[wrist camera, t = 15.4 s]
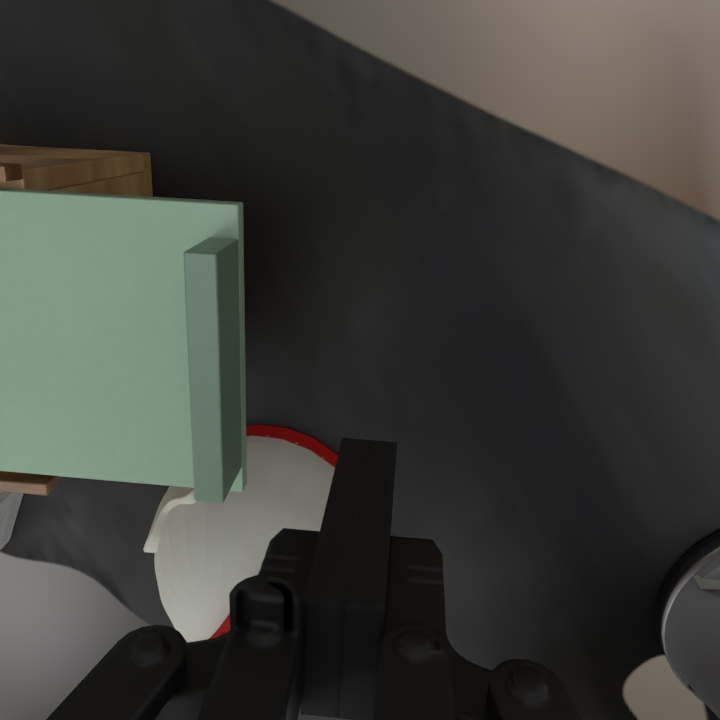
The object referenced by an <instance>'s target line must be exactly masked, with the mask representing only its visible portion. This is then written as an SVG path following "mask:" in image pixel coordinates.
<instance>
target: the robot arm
mask: <svg viewBox="0 0 720 720" xmlns="http://www.w3.org/2000/svg"><path fill="white" fill-rule="evenodd" d="M396 449H397V442H384V441H372V440H359V439H347V438H342V441H341V445H340V449H339V453H338V458H337V462H336V466H335V470H334V474H333V478H332V483H331V487H330V491H329V495H328V499H327V503H326V508H325V512H324V516H323V520H322V524H321V528H320V531H311V530H300V529H288V528H283V529H282V530H281V531H280V532H279V533H278V534H276V535H275V536H274V537H273V538H272V539H271V540H270V542H269V545H268V548H267V551H266V554H265V558H264V559H263V562H262V565H261V570H260V571H259V574H258V575H255V576H252V577H249V578H245V579H244V580H242V581H241V582H239V583H238V584H236V585H235V586H234V588H233V589H232V591H231V592H230V593H229V603H230V631H228V632H227V633H225V634H222V635H220V636H218V637H215V638H211V639H207V640H201V641H194V642H188V643H186V640H185V639H184V637H183V636H182V634H181V633H180V632H179V631H177V630H175V629H173V628H171V627H169V626H161V625H152V626H146V627H141V628H139V629H137V630H134V631H132V632H130V633H128V634H127V635H126V636H124V637H123V638H122V639H121V640H119V641H118V642H117V643H116V644H115V645H114V646H113V648H112V649H111V650H110V651H109V652H108V653H107V654H106V655H105V656H104V657H103V658H102V659H101V661H100V662H99V663H98V664H97V665H96V666H95V667H94V668H93V669H92V670H91V671H90V673H89V674H88V675H87V676H86V677H85V678H84V679H83V680H82V681H81V682H80V684H79V685H78V686H77V687H76V688H75V689H74V690H73V691H72V692H71V693H70V694H69V695H68V696H67V698H66V699H65V700H64V701H63V702H62V703H61V704H60V705H59V706H58V707H57V709H55V711H54V712H53V713H52V714H51V715H50V716H49V717H48V718H47V719H46V720H297V718H298V713H299V708H300V704H301V714H307V715H316V716H325V717H335V718H344V719H353V720H582V719H581V717H580V715H579V714H578V712H577V710H576V708H575V706H574V704H573V702H572V701H571V699H570V697H569V695H568V693H567V691H566V689H565V688H564V686H563V684H562V683H561V682H560V680H559V679H558V678H557V677H556V675H555V674H554V673H553V672H551V671H550V670H548V669H547V668H545V667H544V666H543V665H540V664H538V663H535V662H532V661H529V660H520V659H512V660H508V661H505V662H501V663H500V664H499V665H498V666H497V667H495V668H494V669H493V671H492V670H489V669H486V668H483V667H481V666H478V665H476V664H474V663H472V662H469V661H467V660H466V659H465V658H463V657H462V656H460V655H459V654H458V653H457V652H456V651H455V650H454V649H453V648H452V646H451V644H450V642H449V641H448V638H447V634H446V622H445V601H444V586H443V584H444V581H443V560H442V553H441V552H440V550H439V549H438V547H437V546H436V544H435V543H434V541H433V540H428V539H417V538H406V537H395V536H390V533H391V519H392V505H393V491H394V477H395V463H396ZM655 628H656V632H657V636H658V639H659V642H660V645H661V647H662V649H663V651H664V653H665V656H666V658H667V660H668V662H669V664H670V666H671V668H672V670H673V672H674V673H675V675H676V676H677V678H678V679H679V680H680V681H681V683H682V684H683V685H684V686H685V687H686V688H687V689H688V690H689V691H691V692H692V693H693V694H694V695H695V696H696V697H697V698H699V699H700V700H701V701H703V702H704V703H705V704H706V705H707V706H708V707H709V708H710V709H711V710H712V711H713V712H714V713H715V715H716V716H717V717H718V718H719V719H720V531H719V532H717V533H715V534H713V535H711V536H709V537H707V538H706V539H704V540H703V541H701V542H700V543H698V544H697V545H696V546H694V547H693V548H692V549H691V550H689V551H688V552H687V553H686V554H685V555H684V556H683V557H682V558H681V559H680V560H679V561H678V562H677V563H676V565H675V566H674V567H673V568H672V570H671V571H670V572H669V574H668V575H667V577H666V579H665V581H664V582H663V585H662V587H661V589H660V591H659V595H658V598H657V602H656V607H655Z"/></svg>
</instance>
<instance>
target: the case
mask: <svg viewBox="0 0 720 720" xmlns="http://www.w3.org/2000/svg"><path fill="white" fill-rule="evenodd" d="M0 188H11V189H28V190H45V191H62V192H79V193H96V194H113V195H130V196H147V197H153V191H152V174H151V157H150V153H145V152H127V151H109V150H91V149H72V148H54V147H36V146H17V145H0ZM60 477H61V476H53V475H41V474H30V473H18V472H7V471H0V491H2V492H13V493H24V494H36V495H48V494H49V493H50V492H51V491H52V490H53V489H54V488H55V487H56V486H57V485H58V484H59V483H60Z"/></svg>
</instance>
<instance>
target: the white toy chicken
mask: <svg viewBox="0 0 720 720" xmlns="http://www.w3.org/2000/svg"><path fill="white" fill-rule="evenodd" d="M246 455H247V484H246V486H245V488H244V490H243V492H235V491H229V493H228V495H227V497H226V499H225V501H224V502H223V503H214V502H203V501H195V499H194V488H190V487H178V486H169V488H168V490H167V492H166V493H165V495H164V497H163V499H162V500H161V503H160V505H159V507H158V510H157V512H156V515H155V518H154V521H153V524H152V527H151V530H150V532H149V535H148V538H147V541H146V544H145V546H144V549H143V550H144V552H150V553H155V559H154V562H155V572H156V578H157V583H158V588H159V593H160V598H161V601H162V604H163V606H164V608H165V610H166V612H167V614H168V616H169V618H170V620H171V622H172V623H173V625H174V627H175V629H176V630H177V631H179V632H180V633H181V634H182V636H183V637H184V639H185V640H186V641H187V642H194V641H201V640H207V639H211V638H215V637H218V636H220V635H222V634H225V633H227V632H228V631H230V603H229V593H230V592H231V591H232V589H233V588H234V586H235V585H236V584H238V583H239V582H241V581H242V580H244V579H245V578H249V577H252V576H255V575H258V574H259V571H260V570H261V565H262V562H263V559H264V558H265V554H266V551H267V548H268V545H269V542H270V540H271V539H272V538H273V537H274V536H275V535H276V534H278V533H279V532H280V531H281V530H282V529H283V528H288V529H300V530H311V531H320V528H321V524H322V520H323V516H324V512H325V508H326V503H327V499H328V495H329V491H330V487H331V483H332V478H333V474H334V470H335V466H336V462H337V458H338V455H337V454H335V453H334V452H332V451H331V450H330V449H328V448H327V447H326V446H324V445H323V444H321V443H320V442H319V441H317V440H316V439H314V438H312V437H309V436H307V435H304V434H302V433H299V432H296V431H294V430H291V429H289V428H284V427H276V426H267V425H258V424H257V425H251V426H246Z"/></svg>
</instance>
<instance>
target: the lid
mask: <svg viewBox="0 0 720 720" xmlns="http://www.w3.org/2000/svg"><path fill="white" fill-rule="evenodd" d="M0 471H7V472H18V473H30V474H41V475H53V476H64V477H75V478H87V479H98V480H110V481H121V482H132V483H144V484H155V485H167V486H178V487H190V488H194V499H195V501H203V502H214V503H223V502H224V501H225V499H226V497H227V495H228V493H229V491H235V492H243V490H244V488H245V486H246V484H247V455H246V381H245V308H244V234H243V203H242V202H232V201H215V200H198V199H181V198H164V197H147V196H130V195H113V194H96V193H79V192H62V191H45V190H28V189H11V188H0Z"/></svg>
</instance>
